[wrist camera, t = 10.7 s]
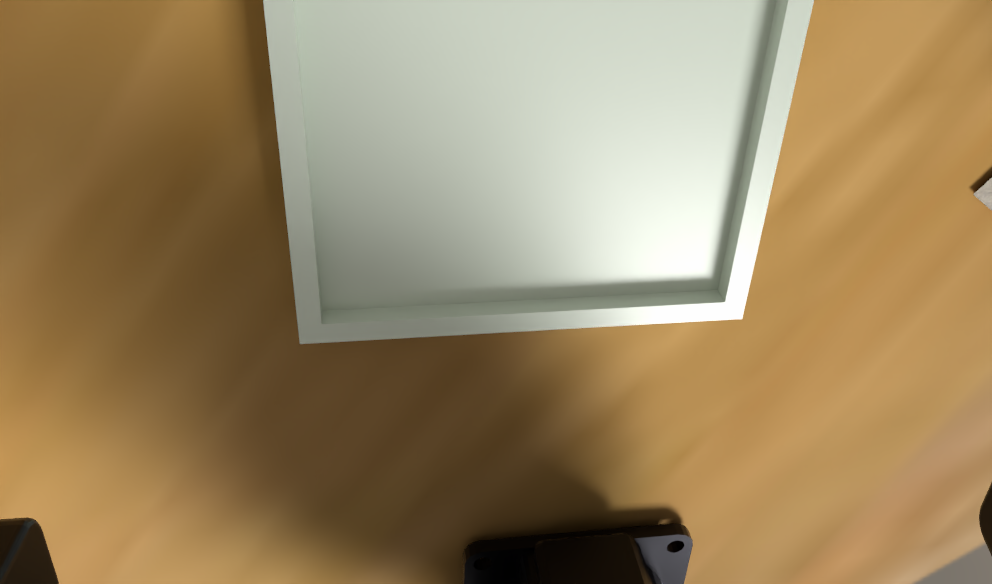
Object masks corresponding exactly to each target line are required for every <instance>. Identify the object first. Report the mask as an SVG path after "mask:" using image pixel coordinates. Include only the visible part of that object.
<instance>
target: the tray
mask: <svg viewBox="0 0 992 584" xmlns="http://www.w3.org/2000/svg"><path fill="white" fill-rule="evenodd" d="M813 2H814V0H263V4H264V13H265V23H266V32H267V41H268V51H269V60H270V70H271V79H272V88H273V98H274V107H275V116H276V126H277V135H278V145H279V154H280V163H281V173H282V182H283V192H284V201H285V210H286V220H287V229H288V239H289V248H290V257H291V267H292V276H293V286H294V295H295V304H296V314H297V323H298V332H299V342H300V344H312V343H329V342H347V341H364V340H382V339H399V338H417V337H434V336H452V335H469V334H487V333H504V332H522V331H539V330H557V329H574V328H592V327H609V326H627V325H644V324H662V323H679V322H697V321H714V320H732V319H742V317H743V313H744V308H745V304H746V299H747V295H748V291H749V286H750V282H751V277H752V273H753V268H754V264H755V260H756V255H757V251H758V246H759V242H760V237H761V233H762V228H763V224H764V220H765V215H766V211H767V206H768V202H769V197H770V193H771V189H772V184H773V180H774V175H775V171H776V166H777V162H778V158H779V153H780V149H781V144H782V140H783V135H784V131H785V127H786V122H787V118H788V113H789V109H790V104H791V100H792V95H793V91H794V87H795V82H796V78H797V73H798V69H799V64H800V60H801V56H802V51H803V47H804V42H805V38H806V33H807V29H808V25H809V20H810V16H811V11H812V7H813Z"/></svg>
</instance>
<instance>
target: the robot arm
mask: <svg viewBox="0 0 992 584" xmlns="http://www.w3.org/2000/svg"><path fill="white" fill-rule="evenodd" d="M979 521H980V528H981V532H982V535H983V537H984V540H985V542H986V544H987V546H988V548H989V551H990V553H991V555H992V483H991V485H990V487H989V490H988V492H987V494H986V496H985V499H984V501H983V503H982V505H981V508H980V514H979ZM692 545H693V544H692V539H691V536H690V534H689V531H688V529H687V528H686V527H685V526H684V525H681V524H665V525H654V526H642V527H630V528H619V529H607V530H596V531H584V532H573V533H561V534H550V535H538V536H527V537H515V538H504V539H492V540H481V541H476V542H473V543H472V544H470V545H468V546H467V547H466V548H465V549H464V553H463V581H462V584H684V581H685V576H686V572H687V567H688V563H689V559H690V554H691V550H692ZM480 558H481V559H480ZM0 584H59V582H58V578H57V575H56V572H55V569H54V566H53V563H52V560H51V556H50V553H49V550H48V547H47V544H46V541H45V538H44V534H43V531H42V529H41V527H40V525H39V524H38V522H37V521H36V520H34V519H32V518H14V519H0Z"/></svg>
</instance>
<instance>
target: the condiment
mask: <svg viewBox="0 0 992 584" xmlns="http://www.w3.org/2000/svg"><path fill="white" fill-rule="evenodd" d="M974 196H976V197H977V198H978V199H979V200H980V201H981V202H982V203H984V204H985V205H986V206H987V207H988V208H989V209H991V210H992V178H991V179H990V180H989V181H987V182H986V183H985V184H984V185H983V186H982V187H981V188H980V189H979V190H977V191H976V192H975V193H974Z"/></svg>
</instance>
